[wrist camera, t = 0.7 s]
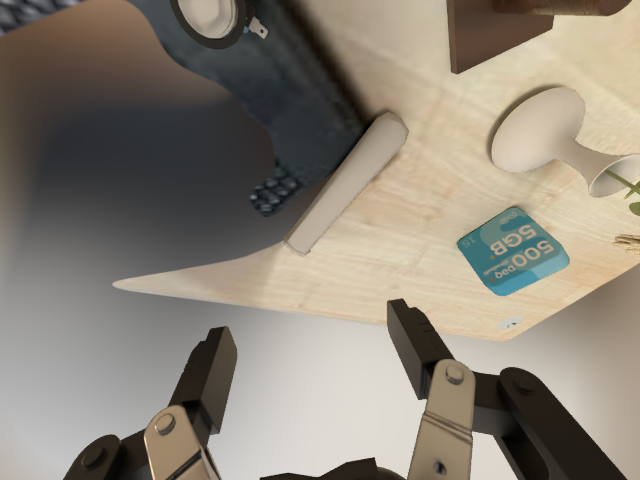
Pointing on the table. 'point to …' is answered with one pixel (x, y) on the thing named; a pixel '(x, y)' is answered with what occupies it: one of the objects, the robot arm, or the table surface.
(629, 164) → the flower in vase
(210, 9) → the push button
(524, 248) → the data package
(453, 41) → the stand
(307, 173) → the table surface
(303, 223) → the tube
